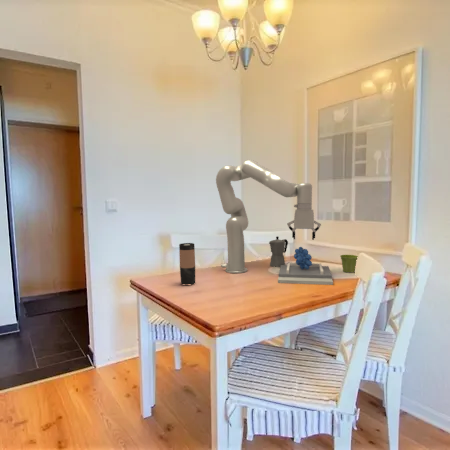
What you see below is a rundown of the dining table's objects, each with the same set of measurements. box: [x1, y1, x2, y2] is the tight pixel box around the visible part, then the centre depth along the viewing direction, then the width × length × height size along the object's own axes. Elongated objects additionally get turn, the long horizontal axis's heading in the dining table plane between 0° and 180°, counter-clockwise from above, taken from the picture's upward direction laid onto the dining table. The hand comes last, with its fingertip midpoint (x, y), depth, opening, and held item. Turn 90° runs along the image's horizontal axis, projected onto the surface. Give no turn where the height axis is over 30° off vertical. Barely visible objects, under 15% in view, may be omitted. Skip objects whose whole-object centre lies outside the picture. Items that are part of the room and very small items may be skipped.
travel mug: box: [178, 242, 196, 285], centre depth 169 cm, size 8×8×20 cm
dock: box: [277, 262, 334, 286], centre depth 178 cm, size 26×28×5 cm
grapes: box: [293, 246, 313, 270], centre depth 181 cm, size 12×7×12 cm, turn 39°
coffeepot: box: [268, 236, 289, 268], centre depth 207 cm, size 15×9×18 cm, turn 126°
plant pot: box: [339, 254, 359, 273], centre depth 187 cm, size 9×9×9 cm
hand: (303, 239), depth 179 cm, fingers open, 9 cm apart
